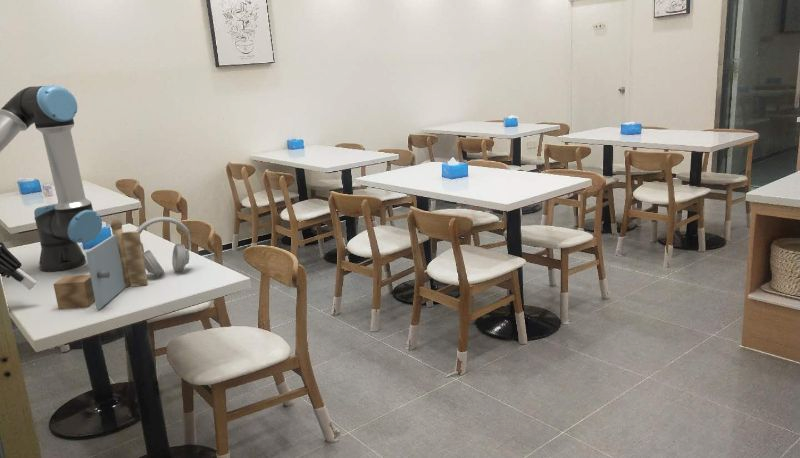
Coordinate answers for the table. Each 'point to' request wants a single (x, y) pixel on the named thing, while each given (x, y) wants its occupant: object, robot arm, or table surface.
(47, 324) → the table surface
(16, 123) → the robot arm
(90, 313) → the table surface
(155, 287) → the table surface
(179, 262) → the headphones
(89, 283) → the walnut block
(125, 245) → the brown long wooden part
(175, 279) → the table surface
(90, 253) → the door
